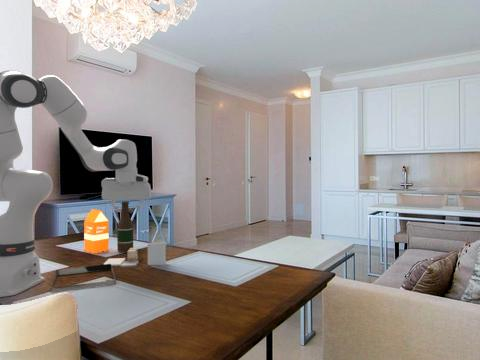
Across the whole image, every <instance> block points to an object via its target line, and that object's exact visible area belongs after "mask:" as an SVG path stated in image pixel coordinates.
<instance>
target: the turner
mask: <svg viewBox="0 0 480 360" xmlns="http://www.w3.org/2000/svg"><path fill="white" fill-rule="evenodd" d="M126 253H127V261H126V260H125V261H124V262H123V263H122V264H121V266H120V268H133V267H137V266H138V264H139V260H138V247H133V248H130V249H129V250H128V251H127V252H126Z"/></svg>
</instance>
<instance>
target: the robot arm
mask: <svg viewBox="0 0 480 360" xmlns="http://www.w3.org/2000/svg"><path fill="white" fill-rule="evenodd" d="M37 105H41V106H42V107H43V108H44V109H45V110H46V112H48V114H50V116H51V117H52V118H53V119H54V120H55V122H56V123H57V124H58V125H59V128H60V130H61V132H62V133H63V135H64V136H65V138H66V139H67V141H68V143H70V144H71V146H72V148H74V150H75V151H76V153H78V156H79V159H80V161H81V163H82V165H83V167H84V168H85V169H86V170H88V171H89V172H103V171H104V172H105V171H107V172H108V171H112V172H113V171H115V177H109V178H108V177H105V178H104V179H102V180H101V182H100V183H101V185H100V186H101V188H102V189H101V199H102V200H103V201H110V205H112V207H113V211H118V210H119V206H118V205H116V201H119V200H121V201H127V200H131V201H132V200H138V202H139V204H138V205H136V211H141V210H142V205H143V202H144V200H150V199H151V198H152V188H151V183H149V182H148V181H149V177H148V176H145V175H143V174H140V173H139V174H138V167H137V162H138V153H137V152H138V151H137V146H136V143H135V142H133V141H132V140H129V139H125V138H123V139H121V138H120V139H117V140H116V141H115V142H114V143H112V144H110V145H108V146H102V147H101V146H100V147H99V146H95V145H93V144H92V143H91V141H90V140H89V139H88V137H87V136H86V134H85V133H84V132H83V130H82V126H83V125H84V124H85V122H86V120H87V116H88V112H87V109H86V107H85V105H84V104H83V102H82V100H80V98H79V97H78V95H76V93H75V92H74V91H73V90H72V89H71V88H70V86H68V85H67V84H66V83H65V82H64V81H63V80H62V79H60V77H58V76H56V75H51V74H49V75H44V76H42V77H41V78H39V79H38V78H36V77H34V76H31V75H29V74H26V73H24V72H22V71H18V70H5V71H2V72H0V202H9V203H8V204H9V205H8V207H7V210H6V211H5V213H3V214H1V215H0V298H2V297H9V296H14V295H18V294H20V293H22V292H24V291H25V290H28V289H30V288H32V287H34V286H36V285H39V284H40V283H42V282H45V280H46V278H45V277H44V276H43V275H42V274H41V265H40V264H41V263H40V257H39V256H38V255H37V254H36V252H35V250H36V240H35V238H34V228H35V227H34V224H35V223H34V221H35V215H36V214H37V213H36V212H37V211H38V209H39V207H40V205H41V204H42V203H43V202H44V201H45V200H46V199H48V198H49V197H50V195H51V193H52V192H53V190H54V183H53V179H52V177H51V175H50V174H49V173H47V172H46V171H40V170H35V169H15V168H14V160H16V159H17V158H18V157H20V156H21V154H22V153H23V149H24V146H23V144H22V143H23V142H22V140H21V135H20V133H19V127H18V125H17V122H16V119H15V118H16V117H15V115H16V110H17V108H18V109H19V108H20V109H25V108H26V109H27V108H31V107H34V106H37Z"/></svg>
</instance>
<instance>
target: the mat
mask: <svg viewBox="0 0 480 360" xmlns="http://www.w3.org/2000/svg"><path fill="white" fill-rule="evenodd" d="M124 261H126V257H122V258H120V257H118V258H116V257H115V258H107V260H106V261H105V262H104V263H103V264H104V265H105V264H111V265H112V267H118V266H120V267H121V264H122V263H123V262H124Z"/></svg>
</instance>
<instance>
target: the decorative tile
mask: <svg viewBox="0 0 480 360" xmlns="http://www.w3.org/2000/svg"><path fill="white" fill-rule="evenodd" d="M102 270H103V271H111V274H112V276H113V278H112V279H107V280H105V281H103V280H102V281H97V282H87V283H80V284H72V285H64V286H54V284H55V281H56V279H57V278H58V277H57V276H63V275H75V274H76V275H77V274H83V273H92V272H93V273H94V272H103V271H102ZM54 273H55V274H54V276H53V279H52V284H51V286H50V292H49V293H55V292H56V293H57V292H64V291H70V290H79V289H80V288H81V289H87V288H88V287H90V288H96V286H98V287H104V286H103V285H106V286H112V285H111V284H114V285H116V284H115V283H116V275H115V272H114V269H113V266H112V265H111V264H105V265H104V263H102V264H96V265H88V266H80V267H70V268H62V269H61V268H60V269H56V270H55V272H54ZM114 279H115V280H114ZM88 289H89V288H88Z"/></svg>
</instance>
